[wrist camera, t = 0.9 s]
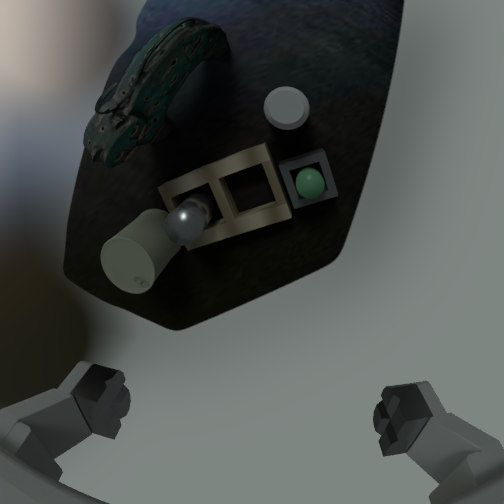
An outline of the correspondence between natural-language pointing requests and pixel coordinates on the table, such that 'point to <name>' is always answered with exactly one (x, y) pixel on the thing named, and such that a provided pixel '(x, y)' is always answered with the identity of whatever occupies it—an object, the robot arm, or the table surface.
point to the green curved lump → (150, 90)
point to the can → (139, 252)
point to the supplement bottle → (286, 108)
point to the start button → (309, 182)
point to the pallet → (232, 218)
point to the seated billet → (191, 217)
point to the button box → (305, 160)
